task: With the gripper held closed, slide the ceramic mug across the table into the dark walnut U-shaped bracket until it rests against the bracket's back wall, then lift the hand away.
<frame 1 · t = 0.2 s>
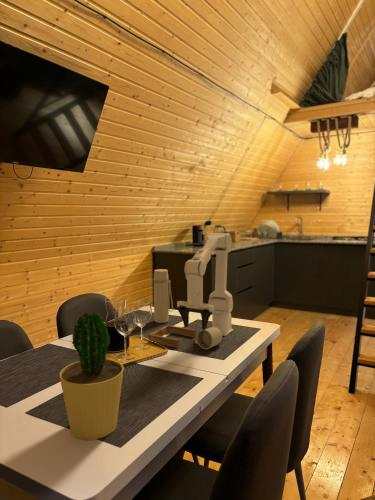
hand: (195, 327, 144), 10 cm above the table, tool pointing down, fingers open, 7 cm apart
ceramic mug: (206, 346, 153), on the table
potted cactus: (94, 427, 97), on the table
walnut bracket: (172, 339, 161), on the table
water bottle: (163, 321, 186), on the table
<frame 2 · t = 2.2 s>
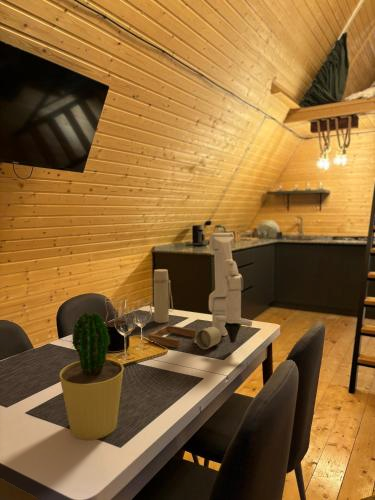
hand: (232, 342, 147), 3 cm above the table, tool pointing down, fingers closed
nothing on the table moved.
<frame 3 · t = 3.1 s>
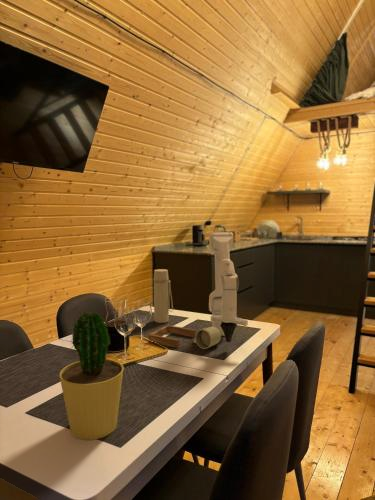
hand: (228, 341, 148), 3 cm above the table, tool pointing down, fingers closed
nothing on the table moved.
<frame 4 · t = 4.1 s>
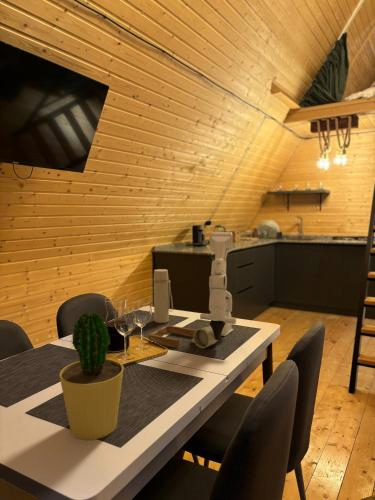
hand: (217, 339, 150), 3 cm above the table, tool pointing down, fingers closed
ceramic mug: (203, 345, 154), on the table, touching gripper
everything else where it was.
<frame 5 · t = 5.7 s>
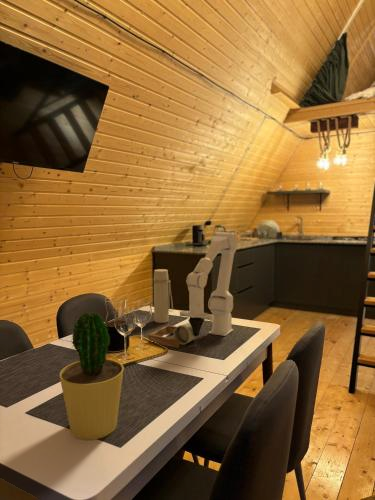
hand: (196, 335, 155), 3 cm above the table, tool pointing down, fingers closed
ceramic mug: (183, 341, 158), on the table, touching gripper
everything else where it was.
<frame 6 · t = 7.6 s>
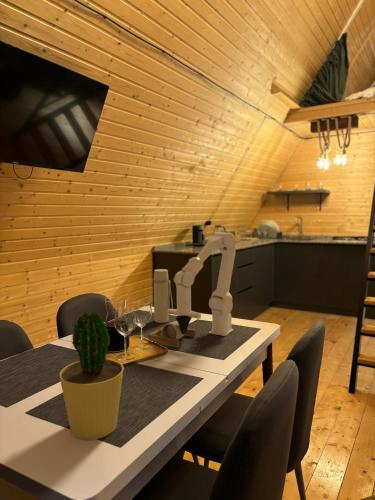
hand: (184, 333, 158), 3 cm above the table, tool pointing down, fingers closed
ceramic mug: (171, 339, 161), on the table, touching gripper, walnut bracket
everything else where it was.
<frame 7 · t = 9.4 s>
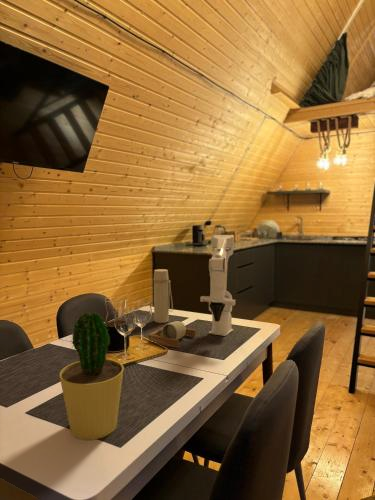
hand: (217, 320, 154), 9 cm above the table, tool pointing down, fingers closed
ceramic mug: (171, 339, 161), on the table
everything else where it was.
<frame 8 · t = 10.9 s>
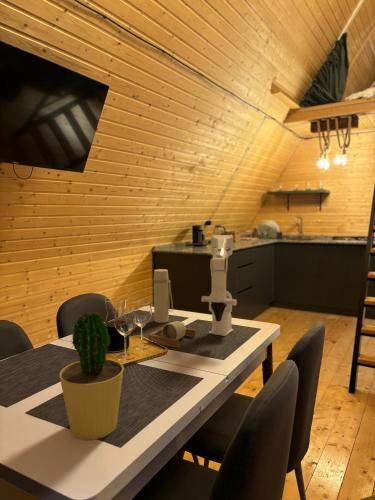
hand: (218, 320, 154), 9 cm above the table, tool pointing down, fingers closed
nothing on the table moved.
at the end: ceramic mug inside the target area (0.1 cm from its centre), on the table; ceramic mug tilted 0° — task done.
